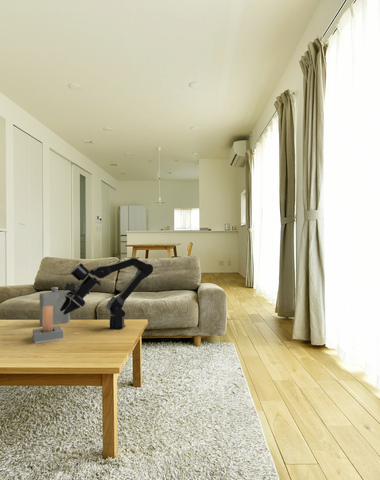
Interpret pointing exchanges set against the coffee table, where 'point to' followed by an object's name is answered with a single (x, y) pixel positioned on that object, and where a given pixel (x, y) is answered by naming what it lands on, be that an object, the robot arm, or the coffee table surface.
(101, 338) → the coffee table surface
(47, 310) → the pin
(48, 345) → the coffee table surface
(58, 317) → the hip flask
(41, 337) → the socket block
